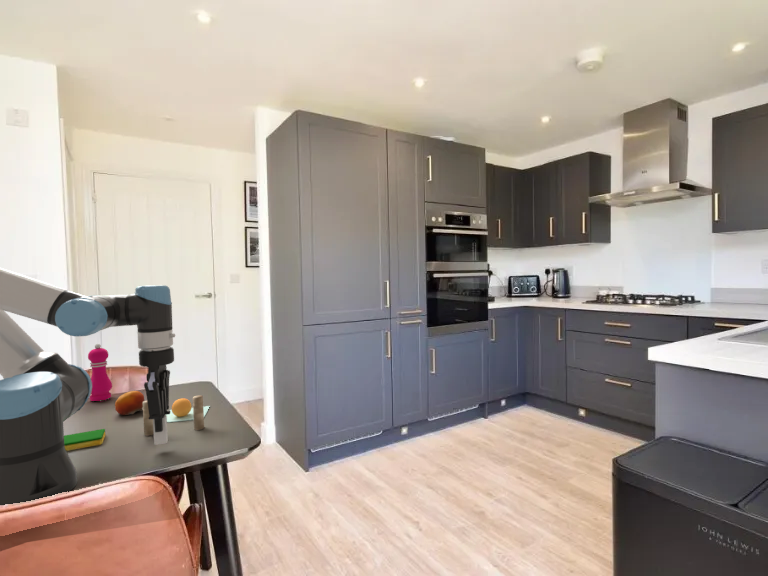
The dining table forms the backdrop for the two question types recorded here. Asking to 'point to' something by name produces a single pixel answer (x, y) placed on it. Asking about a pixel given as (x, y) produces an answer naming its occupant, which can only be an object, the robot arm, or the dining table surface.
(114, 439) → the dining table surface
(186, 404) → the ball
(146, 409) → the left post
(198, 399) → the right post
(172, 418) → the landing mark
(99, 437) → the dish sponge
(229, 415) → the dining table surface
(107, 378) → the pepper mill
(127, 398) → the fruit
